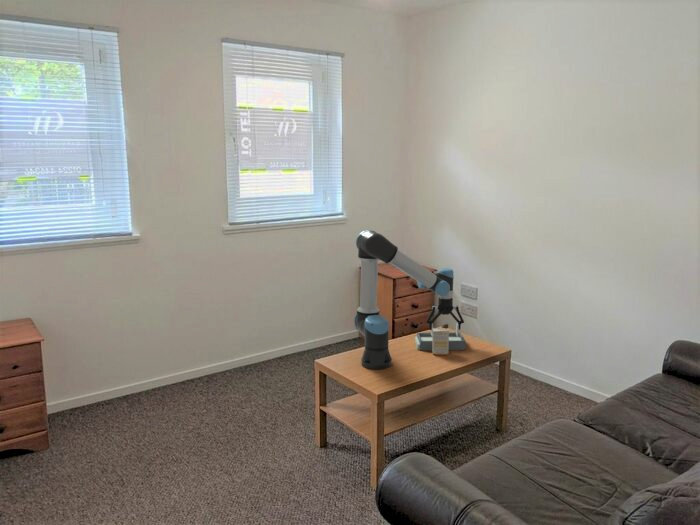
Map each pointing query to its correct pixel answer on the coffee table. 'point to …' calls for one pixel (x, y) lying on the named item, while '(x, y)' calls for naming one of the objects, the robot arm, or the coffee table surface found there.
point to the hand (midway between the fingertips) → (444, 335)
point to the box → (425, 341)
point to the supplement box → (440, 341)
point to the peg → (445, 325)
